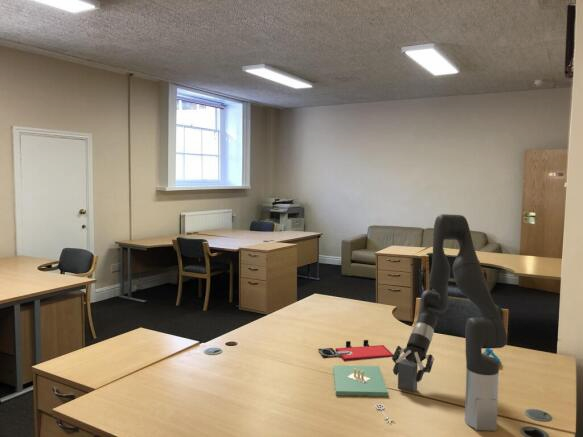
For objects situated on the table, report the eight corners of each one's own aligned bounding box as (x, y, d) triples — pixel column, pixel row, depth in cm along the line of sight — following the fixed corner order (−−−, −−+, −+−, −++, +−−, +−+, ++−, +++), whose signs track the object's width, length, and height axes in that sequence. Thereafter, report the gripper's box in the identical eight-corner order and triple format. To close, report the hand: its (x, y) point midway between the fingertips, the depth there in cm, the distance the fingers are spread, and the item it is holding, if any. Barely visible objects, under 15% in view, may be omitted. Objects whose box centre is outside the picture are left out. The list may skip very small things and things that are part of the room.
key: (382, 405, 152) (373, 406, 152) (382, 402, 152) (373, 403, 151) (395, 425, 140) (385, 425, 140) (396, 421, 140) (385, 422, 140)
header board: (387, 396, 158) (387, 383, 157) (335, 395, 159) (335, 382, 158) (378, 369, 180) (378, 358, 179) (333, 368, 180) (333, 358, 180)
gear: (503, 362, 182) (484, 343, 184) (491, 371, 183) (473, 352, 185) (499, 356, 193) (481, 337, 195) (488, 364, 194) (470, 346, 196)
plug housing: (401, 384, 166) (402, 359, 165) (417, 389, 162) (417, 364, 162) (397, 387, 164) (398, 362, 163) (413, 392, 160) (413, 366, 159)
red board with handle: (316, 349, 202) (326, 363, 187) (316, 343, 201) (326, 356, 187) (379, 344, 208) (393, 358, 193) (380, 339, 208) (394, 351, 193)
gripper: (400, 328, 172) (384, 367, 164) (436, 337, 163) (421, 378, 155) (406, 338, 176) (391, 376, 169) (441, 347, 167) (427, 388, 159)
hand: (405, 377), depth 162 cm, fingers open, 8 cm apart
